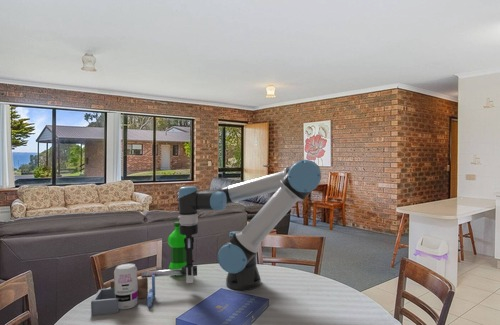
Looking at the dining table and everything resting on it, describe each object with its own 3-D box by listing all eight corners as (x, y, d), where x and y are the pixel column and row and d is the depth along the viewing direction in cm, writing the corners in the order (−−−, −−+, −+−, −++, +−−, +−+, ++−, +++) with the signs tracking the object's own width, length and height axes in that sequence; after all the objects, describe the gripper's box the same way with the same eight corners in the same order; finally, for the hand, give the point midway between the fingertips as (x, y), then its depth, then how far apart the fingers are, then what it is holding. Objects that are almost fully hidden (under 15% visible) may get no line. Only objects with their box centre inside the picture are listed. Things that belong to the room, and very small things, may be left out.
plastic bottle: (185, 278, 159) (183, 224, 159) (164, 276, 162) (163, 224, 161) (194, 271, 169) (192, 220, 168) (174, 270, 171) (173, 220, 171)
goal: (124, 299, 136) (123, 287, 136) (117, 312, 124) (117, 299, 124) (99, 301, 134) (99, 289, 134) (91, 315, 122) (91, 301, 122)
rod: (197, 289, 144) (196, 264, 144) (198, 302, 131) (197, 274, 131) (142, 294, 140) (142, 268, 140) (138, 307, 127) (137, 279, 127)
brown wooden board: (148, 295, 139) (147, 277, 139) (147, 297, 138) (147, 278, 138) (111, 299, 137) (111, 280, 137) (110, 300, 135) (110, 281, 135)
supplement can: (131, 299, 136) (130, 261, 136) (141, 305, 130) (140, 266, 130) (111, 305, 130) (110, 266, 130) (120, 312, 125) (119, 271, 124)
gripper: (179, 220, 149) (181, 274, 149) (178, 228, 132) (180, 289, 132) (197, 220, 150) (198, 273, 150) (198, 227, 133) (199, 287, 134)
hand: (189, 280), depth 141 cm, fingers closed on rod, 4 cm apart
